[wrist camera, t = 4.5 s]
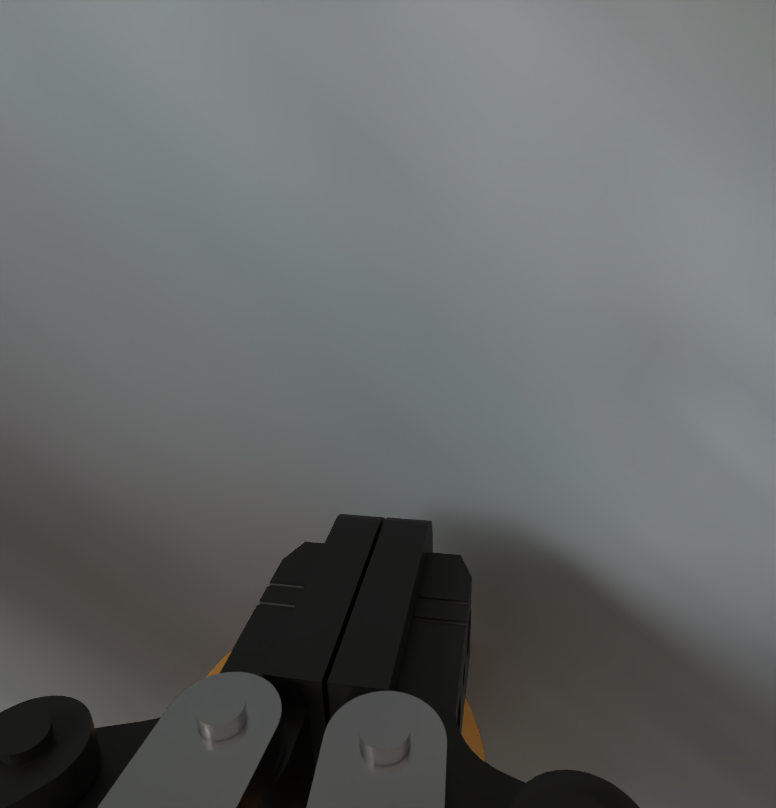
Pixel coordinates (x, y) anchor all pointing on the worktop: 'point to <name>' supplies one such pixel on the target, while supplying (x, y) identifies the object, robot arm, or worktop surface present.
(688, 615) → the worktop surface
